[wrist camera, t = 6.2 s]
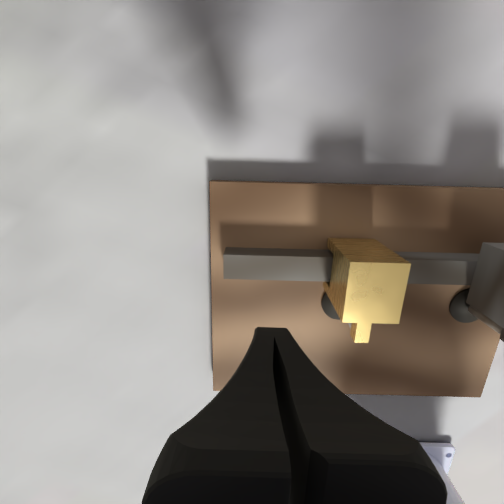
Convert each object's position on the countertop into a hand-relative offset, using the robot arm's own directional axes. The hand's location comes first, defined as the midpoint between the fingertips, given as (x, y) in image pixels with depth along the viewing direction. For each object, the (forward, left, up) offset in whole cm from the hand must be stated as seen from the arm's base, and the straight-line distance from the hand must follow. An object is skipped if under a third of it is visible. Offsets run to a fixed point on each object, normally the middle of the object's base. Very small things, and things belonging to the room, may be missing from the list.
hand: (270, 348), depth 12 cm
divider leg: (0, -5, -8) cm, 10 cm away
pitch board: (-2, -7, -9) cm, 12 cm away
